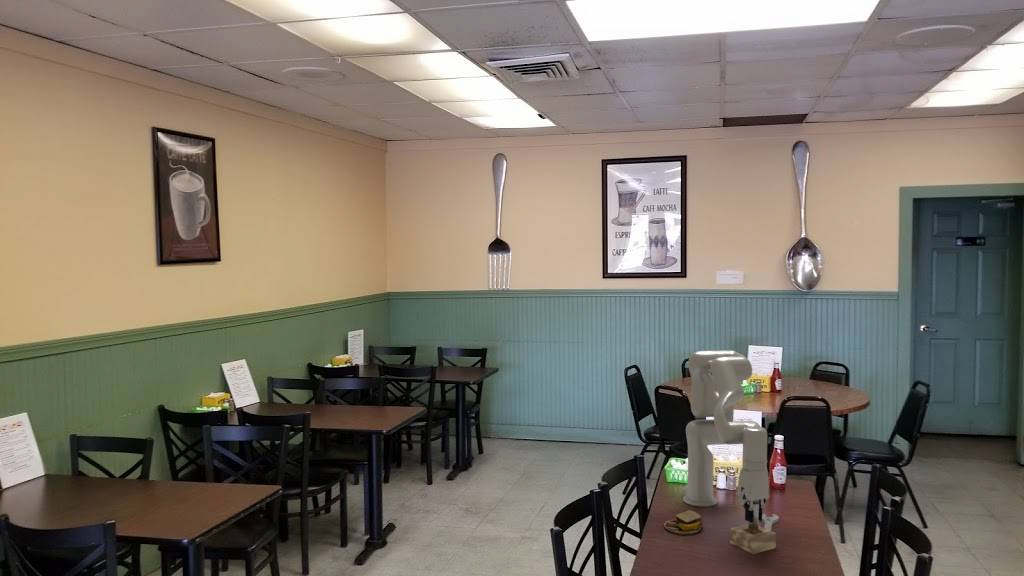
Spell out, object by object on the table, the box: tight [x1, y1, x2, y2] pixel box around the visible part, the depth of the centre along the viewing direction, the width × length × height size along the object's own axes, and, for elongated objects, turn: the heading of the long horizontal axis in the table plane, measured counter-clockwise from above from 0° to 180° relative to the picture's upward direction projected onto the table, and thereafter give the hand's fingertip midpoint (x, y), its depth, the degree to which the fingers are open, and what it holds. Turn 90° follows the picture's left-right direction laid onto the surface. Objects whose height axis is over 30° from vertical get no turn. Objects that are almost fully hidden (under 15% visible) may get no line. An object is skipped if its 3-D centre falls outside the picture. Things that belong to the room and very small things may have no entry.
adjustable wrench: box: [759, 513, 780, 531], centre depth 264 cm, size 25×6×2 cm, turn 154°
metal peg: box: [747, 500, 760, 530], centre depth 248 cm, size 3×3×10 cm
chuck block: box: [729, 524, 777, 555], centre depth 248 cm, size 10×10×5 cm
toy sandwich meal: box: [663, 509, 703, 535], centre depth 264 cm, size 12×14×5 cm
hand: (753, 519), depth 248 cm, fingers closed on metal peg, 3 cm apart
